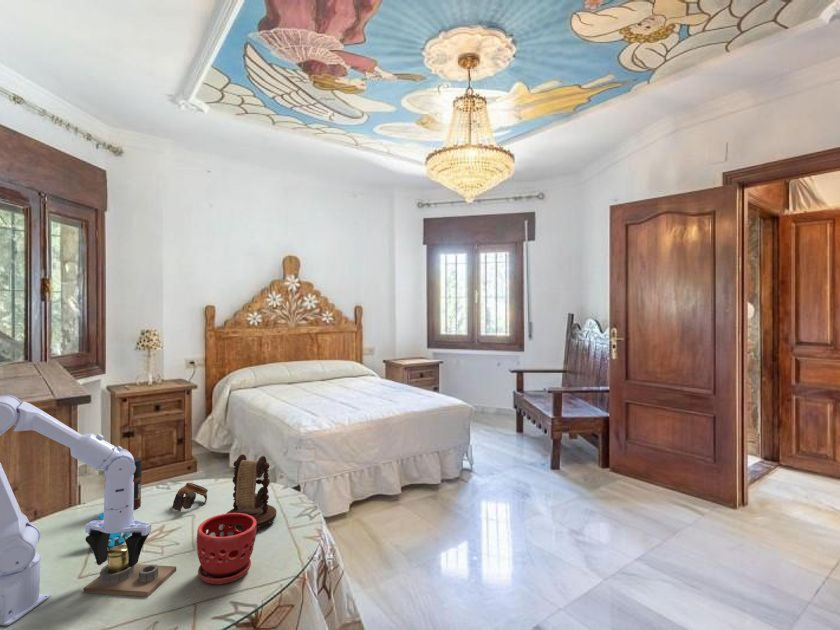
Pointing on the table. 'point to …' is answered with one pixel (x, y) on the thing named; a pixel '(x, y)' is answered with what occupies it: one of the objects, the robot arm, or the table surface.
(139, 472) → the deodorant
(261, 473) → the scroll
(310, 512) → the table surface
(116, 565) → the brass nipple
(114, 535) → the gear
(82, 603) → the table surface
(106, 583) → the manifold board
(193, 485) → the brown leather bracelet
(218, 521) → the plant pot
